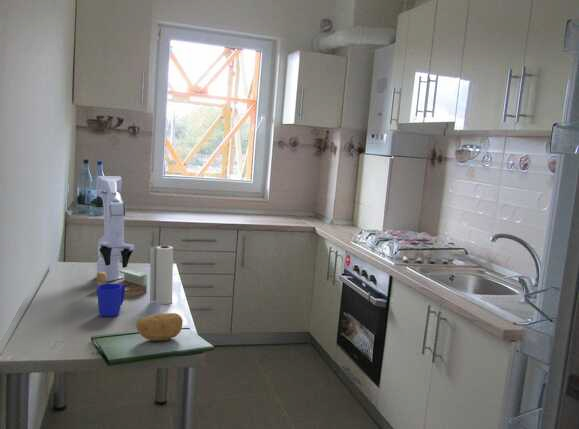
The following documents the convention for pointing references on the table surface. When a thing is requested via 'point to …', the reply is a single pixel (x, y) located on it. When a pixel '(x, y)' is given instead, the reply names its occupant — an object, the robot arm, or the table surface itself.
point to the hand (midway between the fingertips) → (116, 266)
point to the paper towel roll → (161, 274)
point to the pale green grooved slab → (135, 277)
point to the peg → (101, 278)
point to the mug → (110, 299)
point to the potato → (160, 326)
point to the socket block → (132, 288)
